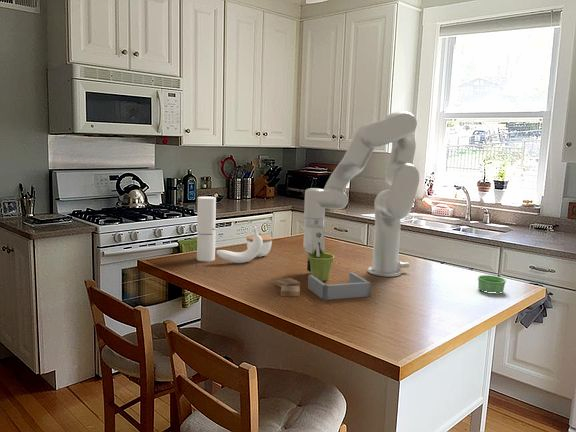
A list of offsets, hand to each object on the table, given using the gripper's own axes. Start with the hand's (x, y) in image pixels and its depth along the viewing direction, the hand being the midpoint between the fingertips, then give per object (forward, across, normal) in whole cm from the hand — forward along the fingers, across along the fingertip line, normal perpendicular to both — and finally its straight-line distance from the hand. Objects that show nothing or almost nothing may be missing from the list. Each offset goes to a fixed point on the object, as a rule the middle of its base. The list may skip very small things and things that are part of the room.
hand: (311, 270), depth 193 cm
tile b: (+2, -21, +16) cm, 26 cm away
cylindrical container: (+1, +29, +34) cm, 45 cm away
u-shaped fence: (+1, -23, 0) cm, 23 cm away
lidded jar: (+1, +32, +11) cm, 34 cm away
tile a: (+2, -13, +14) cm, 19 cm away
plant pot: (+1, -8, 0) cm, 8 cm away
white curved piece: (+1, +21, +22) cm, 31 cm away
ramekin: (+2, -33, -53) cm, 63 cm away
